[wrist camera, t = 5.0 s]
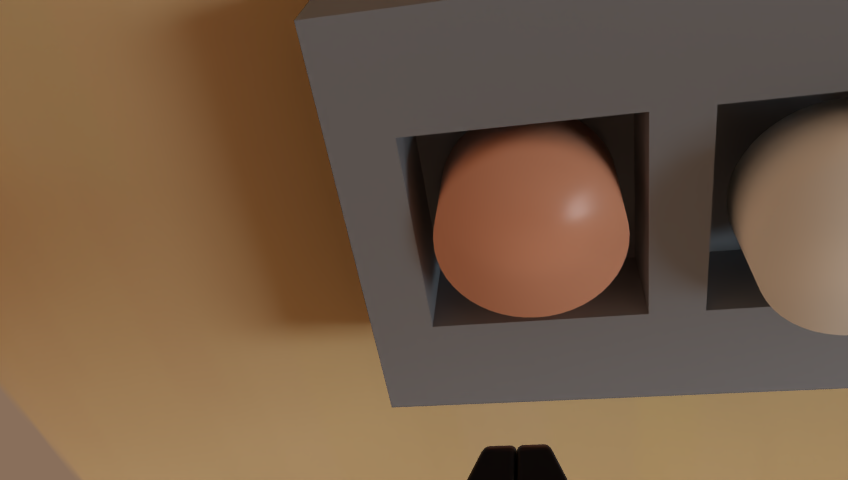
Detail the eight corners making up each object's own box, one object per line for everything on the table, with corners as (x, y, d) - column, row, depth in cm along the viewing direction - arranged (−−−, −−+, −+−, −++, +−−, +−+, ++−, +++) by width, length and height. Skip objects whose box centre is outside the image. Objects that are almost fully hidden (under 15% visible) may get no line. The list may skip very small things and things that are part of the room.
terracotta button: (614, 98, 14) (627, 145, 13) (618, 253, 16) (631, 311, 15) (429, 118, 15) (418, 165, 13) (453, 265, 17) (447, 323, 15)
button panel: (1422, -183, 12) (1662, -163, 9) (1199, 274, 17) (1319, 368, 14) (330, -27, 15) (294, 20, 12) (407, 323, 20) (392, 407, 17)
